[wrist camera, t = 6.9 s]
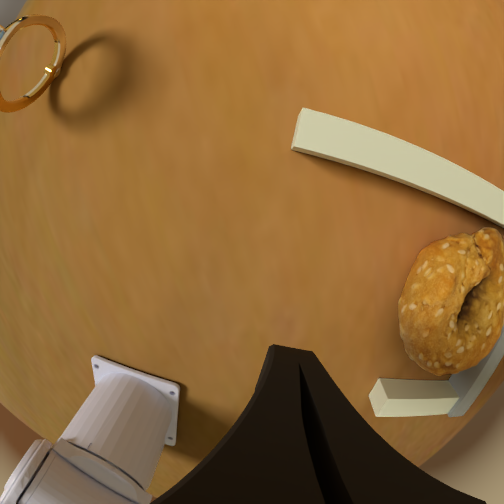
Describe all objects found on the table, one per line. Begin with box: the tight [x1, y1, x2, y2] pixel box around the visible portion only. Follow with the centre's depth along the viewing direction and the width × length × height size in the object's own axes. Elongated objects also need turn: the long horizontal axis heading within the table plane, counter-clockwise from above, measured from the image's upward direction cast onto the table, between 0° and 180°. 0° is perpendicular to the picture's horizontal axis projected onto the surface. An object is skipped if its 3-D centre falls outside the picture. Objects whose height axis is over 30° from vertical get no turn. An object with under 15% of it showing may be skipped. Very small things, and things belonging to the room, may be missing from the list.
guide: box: [291, 108, 504, 417], centre depth 16 cm, size 18×21×3 cm
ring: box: [0, 14, 66, 112], centre depth 10 cm, size 7×3×8 cm, turn 146°
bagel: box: [398, 227, 504, 376], centre depth 15 cm, size 10×11×5 cm
